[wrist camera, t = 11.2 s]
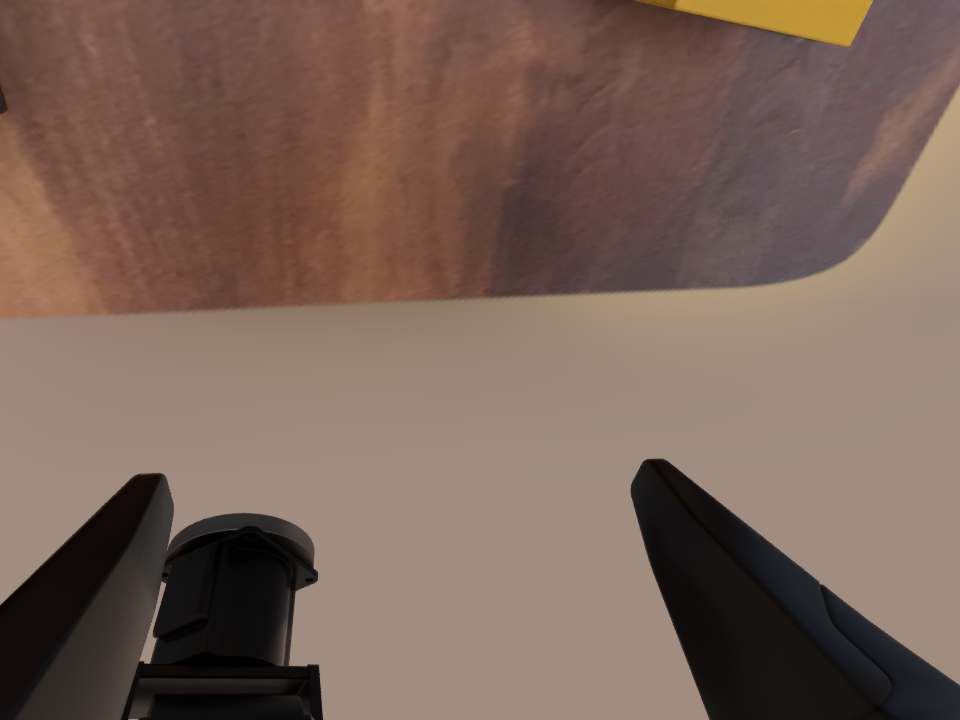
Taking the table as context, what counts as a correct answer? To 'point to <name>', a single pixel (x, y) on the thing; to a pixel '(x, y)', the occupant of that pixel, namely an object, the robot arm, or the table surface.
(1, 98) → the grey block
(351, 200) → the table surface
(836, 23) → the yellow block
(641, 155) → the table surface
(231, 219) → the table surface
